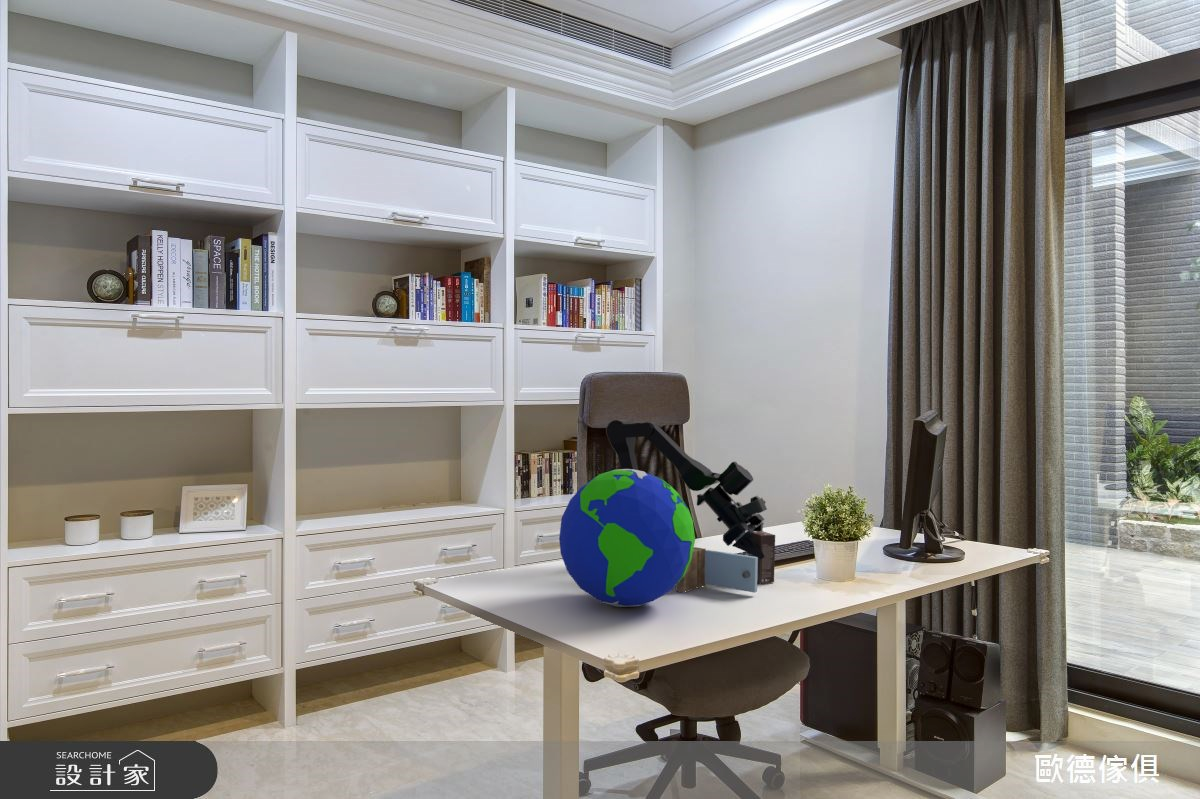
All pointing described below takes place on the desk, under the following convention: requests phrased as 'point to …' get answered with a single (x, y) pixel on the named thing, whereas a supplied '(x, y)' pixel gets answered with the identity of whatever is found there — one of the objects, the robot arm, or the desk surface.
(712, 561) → the door
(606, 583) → the globe
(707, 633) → the desk surface
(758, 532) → the box
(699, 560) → the doorframe
